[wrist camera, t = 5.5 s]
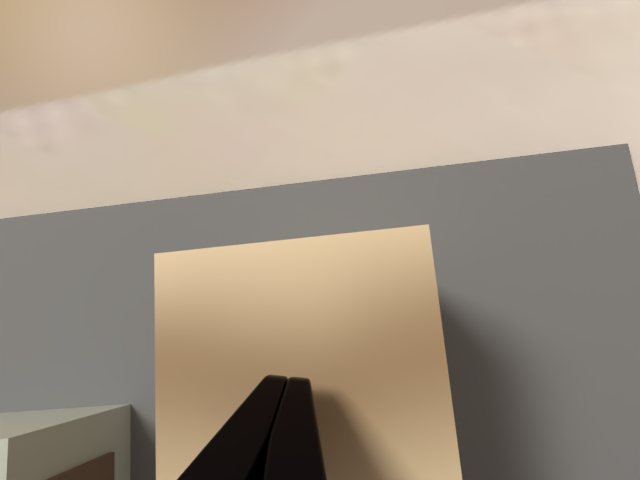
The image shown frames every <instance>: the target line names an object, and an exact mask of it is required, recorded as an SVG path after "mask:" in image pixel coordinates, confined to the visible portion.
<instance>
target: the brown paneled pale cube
mask: <svg viewBox="0 0 640 480" xmlns="http://www.w3.org/2000/svg"><path fill="white" fill-rule="evenodd" d="M130 444H131V404H124V405H109V406H95V407H80V408H66V409H51V410H37V411H22V412H7V413H0V480H130Z"/></svg>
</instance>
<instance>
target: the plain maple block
mask: <svg viewBox="0 0 640 480" xmlns="http://www.w3.org/2000/svg"><path fill="white" fill-rule="evenodd" d="M154 288H155V426H156V480H177V479H178V478H179V476H180V475H181V474H182V473H183V472H184V471H185V469H186V468H187V467H188V466H189V465H190V464H191V462H192V461H193V460H194V459H195V458H196V456H197V455H198V454H199V453H200V452H201V451H202V449H203V448H204V447H205V446H206V445H207V444H208V442H209V441H210V440H211V439H212V438H213V437H214V435H215V434H216V433H217V432H218V431H219V430H220V428H221V427H222V426H223V425H224V424H225V423H226V421H227V420H228V419H229V418H230V417H231V416H232V414H233V413H234V412H235V411H236V410H237V409H238V407H239V406H240V405H241V404H242V403H243V402H244V400H245V399H246V398H247V397H248V396H249V395H250V393H251V392H252V391H253V390H254V389H255V387H256V386H257V385H258V384H259V383H260V382H261V380H262V379H263V378H264V377H265V376H267V375H281V376H286V377H287V378H288V379H289V378H290V377H302V378H308V379H309V380H310V382H311V387H312V393H313V399H314V405H315V411H316V417H317V423H318V428H319V434H320V440H321V446H322V452H323V458H324V464H325V470H326V476H327V480H462V473H461V466H460V458H459V450H458V443H457V435H456V427H455V420H454V412H453V405H452V397H451V389H450V382H449V374H448V366H447V359H446V351H445V344H444V336H443V328H442V321H441V313H440V306H439V298H438V290H437V283H436V275H435V267H434V260H433V252H432V245H431V237H430V229H429V224H428V225H418V226H409V227H399V228H390V229H381V230H371V231H362V232H353V233H343V234H334V235H324V236H315V237H306V238H296V239H287V240H277V241H268V242H259V243H249V244H240V245H231V246H221V247H212V248H202V249H193V250H184V251H174V252H165V253H156V254H154Z"/></svg>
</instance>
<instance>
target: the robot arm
mask: <svg viewBox="0 0 640 480" xmlns="http://www.w3.org/2000/svg"><path fill="white" fill-rule="evenodd" d="M177 480H327V476H326V470H325V464H324V458H323V452H322V446H321V440H320V434H319V428H318V423H317V417H316V411H315V405H314V399H313V393H312V387H311V382H310V380H309V379H308V378H302V377H290V378H289V379H288V378H287V377H286V376H281V375H267V376H265V377H264V378H263V379H262V380H261V382H260V383H259V384H258V385H257V386H256V387H255V389H254V390H253V391H252V392H251V393H250V395H249V396H248V397H247V398H246V399H245V400H244V402H243V403H242V404H241V405H240V406H239V407H238V409H237V410H236V411H235V412H234V413H233V414H232V416H231V417H230V418H229V419H228V420H227V421H226V423H225V424H224V425H223V426H222V427H221V428H220V430H219V431H218V432H217V433H216V434H215V435H214V437H213V438H212V439H211V440H210V441H209V442H208V444H207V445H206V446H205V447H204V448H203V449H202V451H201V452H200V453H199V454H198V455H197V456H196V458H195V459H194V460H193V461H192V462H191V464H190V465H189V466H188V467H187V468H186V469H185V471H184V472H183V473H182V474H181V475H180V476H179V478H178V479H177Z"/></svg>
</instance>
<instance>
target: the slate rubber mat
mask: <svg viewBox="0 0 640 480" xmlns="http://www.w3.org/2000/svg"><path fill="white" fill-rule="evenodd" d="M428 224H429V229H430V237H431V245H432V252H433V260H434V267H435V275H436V283H437V290H438V298H439V306H440V313H441V321H442V328H443V336H444V344H445V351H446V359H447V366H448V374H449V382H450V389H451V397H452V405H453V412H454V420H455V427H456V435H457V443H458V450H459V458H460V466H461V473H462V480H640V195H639V191H638V186H637V182H636V178H635V173H634V169H633V164H632V160H631V156H630V151H629V147H628V144H620V145H612V146H603V147H595V148H587V149H579V150H570V151H562V152H554V153H545V154H537V155H529V156H520V157H512V158H504V159H495V160H487V161H479V162H470V163H462V164H454V165H445V166H437V167H429V168H420V169H412V170H404V171H396V172H387V173H379V174H371V175H362V176H354V177H346V178H337V179H329V180H321V181H312V182H304V183H296V184H287V185H279V186H271V187H262V188H254V189H246V190H237V191H229V192H221V193H212V194H204V195H196V196H188V197H179V198H171V199H163V200H154V201H146V202H138V203H129V204H121V205H113V206H104V207H96V208H88V209H79V210H71V211H63V212H54V213H46V214H38V215H29V216H21V217H13V218H5V219H0V413H7V412H22V411H37V410H51V409H66V408H80V407H95V406H109V405H124V404H131V444H130V480H156V426H155V288H154V254H156V253H165V252H174V251H184V250H193V249H202V248H212V247H221V246H231V245H240V244H249V243H259V242H268V241H277V240H287V239H296V238H306V237H315V236H324V235H334V234H343V233H353V232H362V231H371V230H381V229H390V228H399V227H409V226H418V225H428Z"/></svg>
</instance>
